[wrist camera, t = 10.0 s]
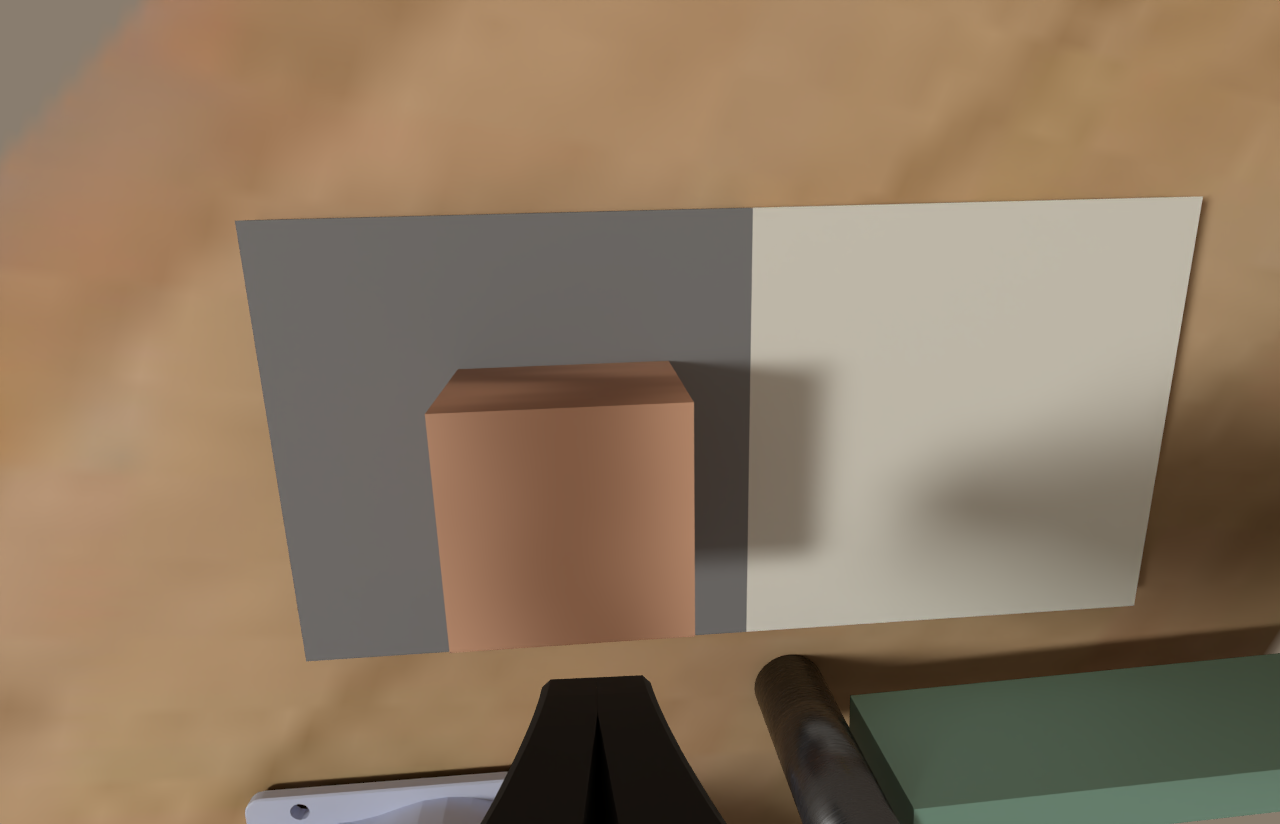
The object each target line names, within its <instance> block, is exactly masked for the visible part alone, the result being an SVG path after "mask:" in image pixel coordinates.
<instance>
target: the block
mask: <svg viewBox="0 0 1280 824" xmlns="http://www.w3.org/2000/svg"><path fill="white" fill-rule="evenodd" d="M425 421H426V431H427V440H428V450H429V459H430V469H431V479H432V488H433V498H434V508H435V517H436V527H437V536H438V546H439V556H440V565H441V575H442V585H443V594H444V604H445V613H446V623H447V633H448V642H449V652H450V653H454V652H469V651H484V650H499V649H513V648H528V647H543V646H558V645H573V644H588V643H602V642H617V641H632V640H647V639H662V638H677V637H691V636H695V518H694V402H693V400H692V398H691V397H690V395H689V393H688V392H687V390H686V388H685V387H684V385H683V383H682V382H681V380H680V379H679V377H678V375H677V374H676V372H675V370H674V369H673V367H672V365H671V364H670V362H669V361H650V362H625V363H600V364H575V365H550V366H525V367H500V368H475V369H458V370H457V371H456V372H455V374H454V375H453V376H452V378H451V379H450V380H449V382H448V383H447V385H446V386H445V387H444V389H443V390H442V391H441V393H440V394H439V395H438V397H437V398H436V400H435V401H434V402H433V404H432V405H431V406H430V408H429V409H428V410H427V412H426V413H425Z"/></svg>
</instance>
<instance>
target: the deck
mask: <svg viewBox="0 0 1280 824" xmlns="http://www.w3.org/2000/svg"><path fill="white" fill-rule="evenodd" d="M1202 199H1203V197H1158V198H1119V199H1079V200H1039V201H999V202H959V203H919V204H879V205H840V206H800V207H760V208H720V209H680V210H640V211H600V212H560V213H521V214H481V215H441V216H401V217H361V218H321V219H281V220H245V221H235V224H236V230H237V236H238V242H239V249H240V255H241V261H242V267H243V273H244V279H245V286H246V292H247V298H248V304H249V310H250V316H251V323H252V329H253V335H254V341H255V347H256V353H257V360H258V366H259V372H260V378H261V384H262V390H263V397H264V403H265V409H266V415H267V421H268V427H269V434H270V440H271V446H272V452H273V458H274V464H275V471H276V477H277V483H278V489H279V495H280V501H281V508H282V514H283V520H284V526H285V532H286V539H287V545H288V551H289V557H290V563H291V569H292V576H293V582H294V588H295V594H296V600H297V606H298V613H299V619H300V625H301V631H302V637H303V643H304V650H305V656H306V661H318V660H333V659H347V658H362V657H377V656H392V655H407V654H422V653H437V652H449V642H448V633H447V623H446V613H445V604H444V594H443V585H442V575H441V565H440V556H439V546H438V536H437V527H436V517H435V508H434V498H433V488H432V479H431V469H430V459H429V450H428V440H427V431H426V421H425V413H426V412H427V410H428V409H429V408H430V406H431V405H432V404H433V402H434V401H435V400H436V398H437V397H438V395H439V394H440V393H441V391H442V390H443V389H444V387H445V386H446V385H447V383H448V382H449V380H450V379H451V378H452V376H453V375H454V374H455V372H456V371H457V370H458V369H475V368H500V367H525V366H550V365H575V364H600V363H625V362H650V361H669V362H670V364H671V365H672V367H673V369H674V370H675V372H676V374H677V375H678V377H679V379H680V380H681V382H682V383H683V385H684V387H685V388H686V390H687V392H688V393H689V395H690V397H691V398H692V400H693V402H694V518H695V635H704V634H719V633H734V632H749V631H763V630H778V629H793V628H808V627H823V626H838V625H853V624H867V623H882V622H897V621H912V620H927V619H942V618H957V617H971V616H986V615H1001V614H1016V613H1031V612H1046V611H1061V610H1075V609H1090V608H1105V607H1120V606H1134V602H1135V596H1136V590H1137V584H1138V578H1139V572H1140V566H1141V560H1142V555H1143V549H1144V543H1145V537H1146V531H1147V525H1148V519H1149V513H1150V507H1151V501H1152V495H1153V489H1154V483H1155V477H1156V472H1157V466H1158V460H1159V454H1160V448H1161V442H1162V436H1163V430H1164V424H1165V418H1166V412H1167V406H1168V400H1169V394H1170V389H1171V383H1172V377H1173V371H1174V365H1175V359H1176V353H1177V347H1178V341H1179V335H1180V329H1181V323H1182V317H1183V312H1184V306H1185V300H1186V294H1187V288H1188V282H1189V276H1190V270H1191V264H1192V258H1193V252H1194V246H1195V240H1196V234H1197V229H1198V223H1199V217H1200V211H1201V205H1202Z"/></svg>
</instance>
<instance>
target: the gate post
mask: <svg viewBox="0 0 1280 824" xmlns="http://www.w3.org/2000/svg"><path fill="white" fill-rule="evenodd" d="M755 695H756V698H757V701H758V704H759V706H760V709H761V712H762V714H763V717H764V720H765V722H766V725H767V728H768V731H769V733H770V736H771V739H772V741H773V744H774V747H775V750H776V752H777V755H778V758H779V760H780V763H781V766H782V769H783V771H784V774H785V777H786V779H787V782H788V785H789V788H790V790H791V793H792V796H793V798H794V801H795V804H796V806H797V809H798V812H799V815H800V817H801V820H802V823H803V824H900V823H899V821H898V820H897V818H896V816H895V814H894V812H893V810H892V808H891V806H890V804H889V802H888V801H887V799H886V797H885V795H884V793H883V791H882V789H881V787H880V785H879V783H878V782H877V780H876V778H875V776H874V774H873V772H872V770H871V768H870V766H869V764H868V763H867V761H866V759H865V757H864V755H863V753H862V751H861V749H860V747H859V745H858V744H857V742H856V740H855V738H854V736H853V734H852V732H851V730H850V728H849V726H848V725H847V723H846V721H845V719H844V717H843V715H842V713H841V711H840V709H839V707H838V706H837V704H836V702H835V700H834V698H833V696H832V694H831V692H830V690H829V688H828V687H827V685H826V683H825V681H824V679H823V677H822V675H821V673H820V671H819V670H818V668H817V667H816V665H815V664H814V663H813V662H811V661H810V660H808V659H806V658H804V657H801V656H795V655H788V656H783V657H779V658H776V659H774V660H772V661H771V662H769V663H768V664H767V665H765V666H764V667H763V669H762V670H761V671H760V672H759V674H758V676H757V678H756V681H755Z"/></svg>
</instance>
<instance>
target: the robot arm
mask: <svg viewBox="0 0 1280 824" xmlns="http://www.w3.org/2000/svg"><path fill="white" fill-rule="evenodd" d="M297 804H302V805H305V806H307V807H308V809H303V808H300V807H298V806H297ZM245 817H246V822H247V824H726V822H725V821H724V819H723V818H722V816H721V815H720V813H719V812H718V810H717V809H716V807H715V806H714V804H713V803H712V801H711V799H710V798H709V796H708V794H707V793H706V791H705V790H704V788H703V786H702V785H701V783H700V781H699V780H698V778H697V776H696V775H695V773H694V771H693V770H692V768H691V766H690V765H689V763H688V761H687V760H686V758H685V756H684V754H683V752H682V751H681V749H680V747H679V745H678V743H677V741H676V739H675V737H674V736H673V734H672V732H671V730H670V728H669V726H668V724H667V722H666V720H665V718H664V715H663V713H662V711H661V709H660V707H659V704H658V702H657V699H656V697H655V694H654V692H653V689H652V686H651V683H650V682H649V681H648V680H647V679H646V678H645V677H644V676H643V675H641V676H619V677H597V678H575V679H553V680H550V681H549V682H548V683H546V684H545V685H544V686H543V687H542V690H541V694H540V698H539V701H538V704H537V707H536V710H535V713H534V715H533V718H532V720H531V723H530V725H529V728H528V730H527V733H526V735H525V737H524V739H523V741H522V744H521V746H520V748H519V750H518V753H517V755H516V757H515V759H514V761H513V763H512V765H511V767H510V769H509V771H508V772H495V773H482V774H470V775H457V776H445V777H432V778H419V779H407V780H394V781H382V782H369V783H356V784H344V785H331V786H319V787H306V788H293V789H281V790H268V791H262V792H258V793H257V794H255V795H254V796H253V797H252V799H251V800H250V802H249V804H248V806H247V807H246V809H245Z"/></svg>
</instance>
